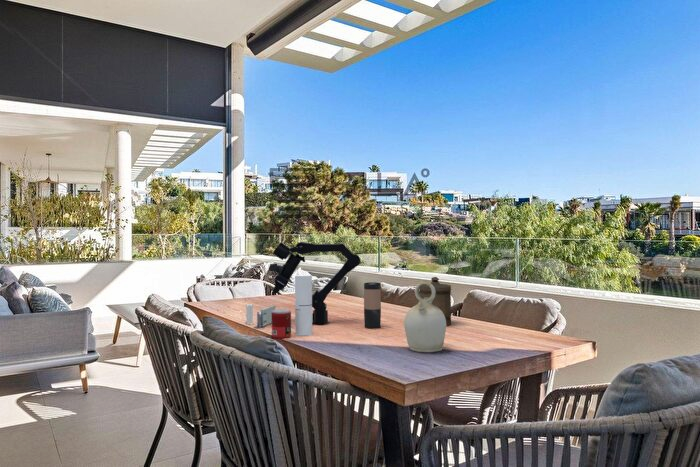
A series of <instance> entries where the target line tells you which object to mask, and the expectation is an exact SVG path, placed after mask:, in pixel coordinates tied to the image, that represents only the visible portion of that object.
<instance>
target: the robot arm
mask: <svg viewBox="0 0 700 467" xmlns="http://www.w3.org/2000/svg"><path fill="white" fill-rule="evenodd" d="M317 252H319V253H321V252H322V253H323V252H325V253H326V252H327V253H328V252H329V253H330V252H332V253H333V252H339V253H340V254H341V255H343V257H344V258H346V260H345V262H344V263H343V265H342V266H341V267H340V269H339V270H338V271H337V272H336V273H335V274H334V275H333V277H332V278H330V280H329V281H328V282H327V283H326V284H325V285H324V286H323V287H322V288H321V289H320V290H319V289H318V288H316V290H314V292H313V293H312V325H321V326H324V325H326V324H329V323H330V321H329V318H328V317H329V315H328V314H329V313H328V312H329V311H328V310H327V304H326V303H325V300H326V299H327V297H328V296H329V294H330V293H331V292H332V291H333V290H334V289H335V287H336V286H337V285H338V284H339V283H340V282H341V281H342V280H343V278H345V276H347V274H348V273H350V272H351V271H353V270H354V269H355V268H356V267H358V266H359V265H360V264H361V258H360V256H359V255H358V254H356V253H353V252H351V251H350V250H349V248H347V246H346V245H345V244H344V243H342V242H340V243H312V242H305V241H300V242H298V243H297V244H296V245H295V246H292V247H289V246H287V245H286V244H284V242H279V243H278V245H277V247H275V249H274V251H273V252H272V255H274V256H275V257H276V258H279V259H280V260H281V261H283V260H286V261H285V263H283V264H282V265H279V264H277V263H276V262H275V263H274V262H273V263H270V264H269V269H268V271H269V272H275V273H277V274H276V276H275V277H274V282H275V285H274V286H273V289H272V293H271V295H272V296H275V295H276V294H277V293H279V292H280V291H281V290H283V289H284V288H285V287H287V286H288V284H289V283H290V280H291V278H292V276H293V274H294V273H295V272H296V270H297V268H298V267H299V265H300V263H301V262H303V263H306V259H305V256H302V255H306V254H311V253H317ZM294 253H296V254H294Z"/></svg>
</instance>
